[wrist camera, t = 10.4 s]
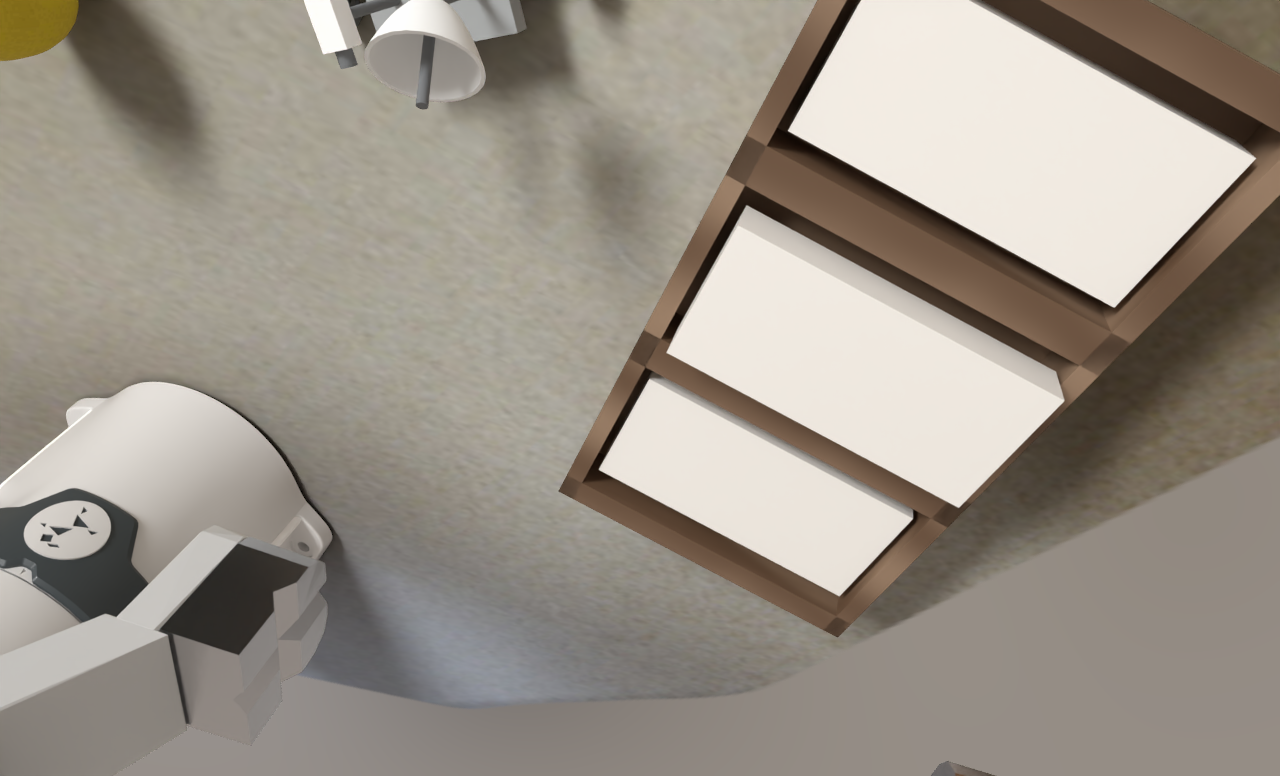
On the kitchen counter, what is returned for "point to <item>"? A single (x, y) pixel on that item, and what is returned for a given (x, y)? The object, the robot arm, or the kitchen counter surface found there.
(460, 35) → the toy car
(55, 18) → the lemon
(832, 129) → the switch
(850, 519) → the switch
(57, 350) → the kitchen counter surface
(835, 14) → the brown boxy piece
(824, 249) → the switch
